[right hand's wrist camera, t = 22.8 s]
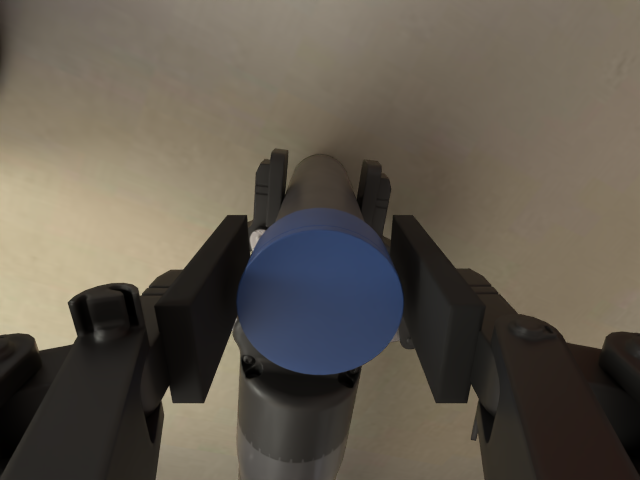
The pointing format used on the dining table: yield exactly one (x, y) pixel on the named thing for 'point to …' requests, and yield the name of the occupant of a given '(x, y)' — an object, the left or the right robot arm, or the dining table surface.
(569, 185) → the dining table surface
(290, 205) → the grey cylinder
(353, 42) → the dining table surface
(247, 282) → the lid
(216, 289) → the right robot arm
